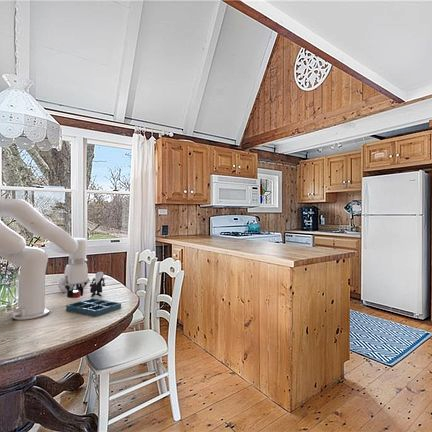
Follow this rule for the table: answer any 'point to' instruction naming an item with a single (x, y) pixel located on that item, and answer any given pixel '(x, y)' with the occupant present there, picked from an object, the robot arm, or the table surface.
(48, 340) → the table surface
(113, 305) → the grid
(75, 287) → the toy
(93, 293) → the toy
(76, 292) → the cylinder
